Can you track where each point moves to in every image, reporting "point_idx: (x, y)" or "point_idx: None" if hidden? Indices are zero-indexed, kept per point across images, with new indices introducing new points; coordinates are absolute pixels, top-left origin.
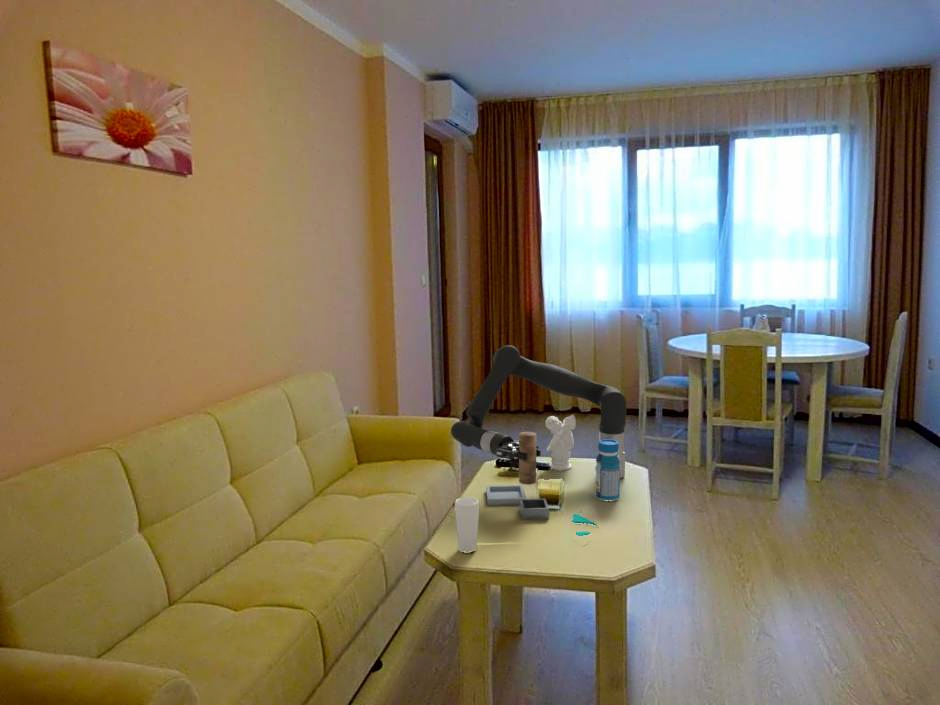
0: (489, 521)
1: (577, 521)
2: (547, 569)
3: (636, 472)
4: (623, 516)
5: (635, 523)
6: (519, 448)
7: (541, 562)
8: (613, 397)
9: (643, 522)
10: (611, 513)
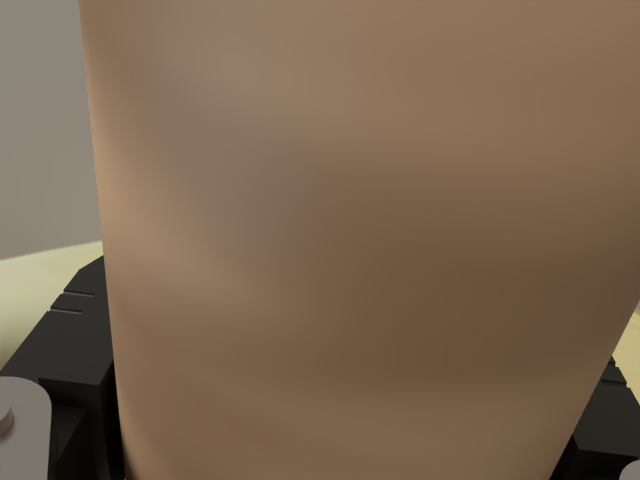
0: None
1: None
2: (630, 323)
3: None
4: (27, 306)
5: (89, 262)
6: (578, 418)
7: (627, 353)
8: None
9: (65, 250)
10: (6, 349)
